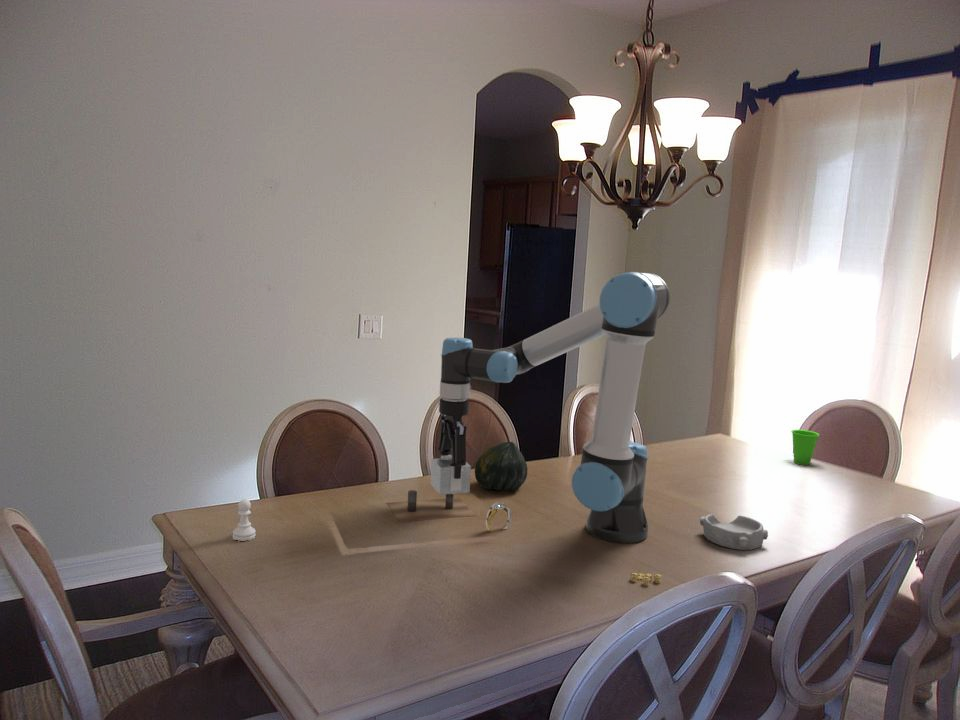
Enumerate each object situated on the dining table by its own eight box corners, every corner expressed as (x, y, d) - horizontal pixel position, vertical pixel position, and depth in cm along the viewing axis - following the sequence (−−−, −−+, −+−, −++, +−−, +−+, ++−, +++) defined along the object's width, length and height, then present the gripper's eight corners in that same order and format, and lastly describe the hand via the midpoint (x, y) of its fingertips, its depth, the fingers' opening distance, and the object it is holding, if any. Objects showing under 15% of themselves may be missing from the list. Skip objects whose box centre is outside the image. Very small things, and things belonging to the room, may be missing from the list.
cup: (817, 462, 258) (821, 432, 257) (813, 468, 251) (817, 437, 249) (790, 457, 263) (793, 428, 261) (786, 463, 255) (789, 432, 254)
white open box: (469, 492, 186) (470, 466, 185) (439, 494, 183) (440, 467, 182) (459, 482, 193) (460, 457, 192) (430, 484, 190) (431, 458, 189)
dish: (691, 533, 184) (693, 514, 183) (736, 528, 189) (737, 510, 188) (730, 556, 170) (732, 535, 170) (776, 550, 175) (778, 530, 175)
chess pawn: (260, 537, 167) (260, 499, 165) (243, 543, 162) (243, 505, 161) (245, 531, 169) (245, 494, 168) (227, 538, 165) (227, 500, 163)
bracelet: (489, 538, 173) (490, 506, 171) (482, 534, 175) (483, 502, 174) (513, 534, 176) (515, 502, 175) (506, 529, 179) (508, 498, 178)
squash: (463, 462, 216) (482, 433, 206) (507, 460, 223) (527, 432, 213) (476, 504, 208) (497, 477, 197) (521, 501, 214) (543, 474, 204)
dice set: (662, 584, 154) (662, 576, 154) (647, 591, 151) (648, 582, 151) (642, 576, 158) (643, 567, 158) (628, 582, 155) (628, 573, 154)
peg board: (476, 520, 184) (477, 496, 183) (399, 526, 177) (400, 502, 176) (458, 501, 197) (459, 479, 196) (386, 507, 190) (387, 484, 189)
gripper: (482, 406, 176) (477, 496, 180) (455, 390, 196) (451, 472, 199) (453, 407, 174) (448, 498, 177) (428, 390, 193) (424, 473, 196)
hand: (450, 484), depth 188 cm, fingers closed on white open box, 8 cm apart
